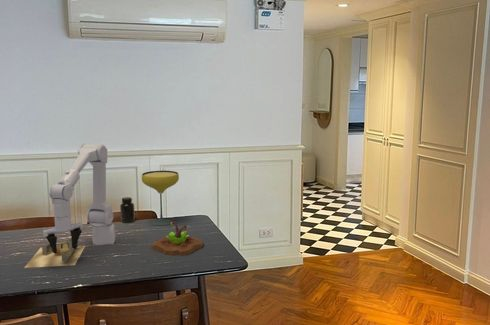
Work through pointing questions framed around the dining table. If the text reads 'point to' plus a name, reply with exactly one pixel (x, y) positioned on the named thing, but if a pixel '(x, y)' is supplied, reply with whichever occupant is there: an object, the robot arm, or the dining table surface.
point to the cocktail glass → (160, 187)
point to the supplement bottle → (127, 210)
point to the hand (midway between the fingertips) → (64, 250)
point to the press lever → (66, 249)
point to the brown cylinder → (58, 251)
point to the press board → (54, 259)
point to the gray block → (46, 249)
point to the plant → (177, 243)
